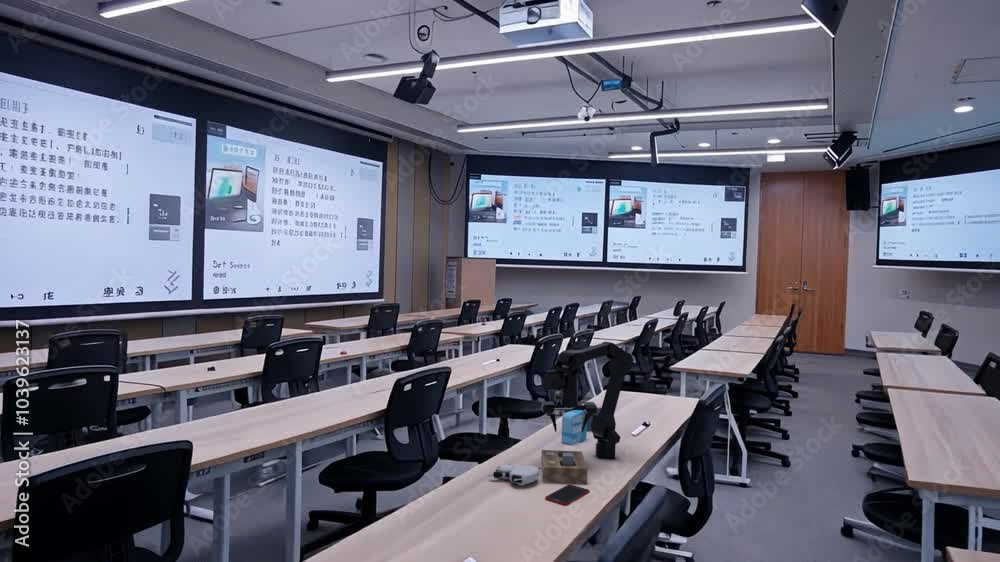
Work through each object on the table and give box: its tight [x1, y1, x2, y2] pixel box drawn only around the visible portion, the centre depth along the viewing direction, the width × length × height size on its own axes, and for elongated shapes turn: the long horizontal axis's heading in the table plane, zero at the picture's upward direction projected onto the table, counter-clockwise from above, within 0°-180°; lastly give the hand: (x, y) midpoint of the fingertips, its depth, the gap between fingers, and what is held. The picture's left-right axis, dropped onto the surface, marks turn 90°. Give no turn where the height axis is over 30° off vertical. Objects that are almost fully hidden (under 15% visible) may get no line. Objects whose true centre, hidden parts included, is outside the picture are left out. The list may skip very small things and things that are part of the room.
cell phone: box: [544, 484, 590, 507], centre depth 181 cm, size 8×15×1 cm, turn 142°
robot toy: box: [488, 464, 543, 487], centre depth 193 cm, size 12×4×15 cm
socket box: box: [540, 449, 588, 485], centre depth 200 cm, size 14×18×5 cm
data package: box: [561, 410, 587, 446], centre depth 237 cm, size 12×4×12 cm, turn 142°
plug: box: [562, 453, 574, 466], centre depth 196 cm, size 3×3×8 cm
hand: (568, 431), depth 208 cm, fingers open, 9 cm apart
